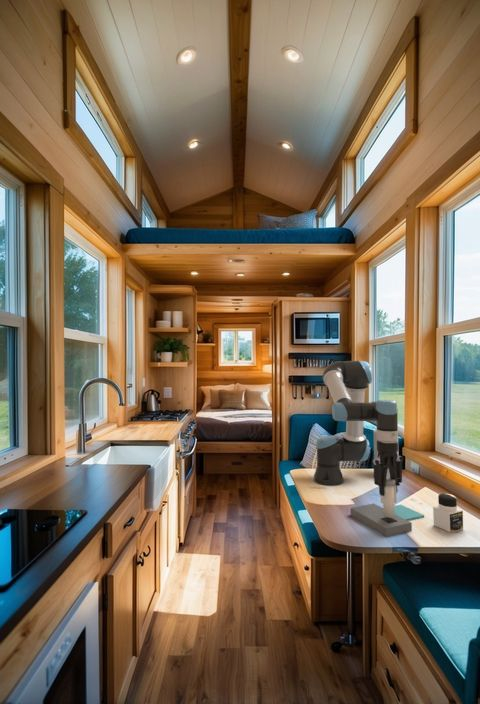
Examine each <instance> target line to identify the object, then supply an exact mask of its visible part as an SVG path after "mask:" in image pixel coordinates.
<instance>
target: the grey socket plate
mask: <svg viewBox="0 0 480 704" xmlns="http://www.w3.org/2000/svg"><path fill="white" fill-rule="evenodd" d="M350 516H351V517H353V518H355V519H356V520H358V521H360V522H361V523H363V524H364V525H366V526H368V527H370V528H371V529H373V530H375V531H376V532H378V533H379V534H381V535H383V536H385V537H386V538H387V537H392V536H396V535H400V534H403V533H404V534H405V533H408V532H409V533H410V532H412V531H413V524H412V521H410V520H409V521H407V520H405V519H403V518H401V517H399V516H397V515H396V514H395V517H393V518H389V517H385V516H384V515H383V506H379V505H377V504H376V503H370V504H364V505H358V506H354V507H353V506H352V507H350Z"/></svg>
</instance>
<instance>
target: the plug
mask: <svg viewBox="0 0 480 704" xmlns="http://www.w3.org/2000/svg"><path fill="white" fill-rule="evenodd" d="M394 485H396V483H395V480H394V479H392V478H386V484H385V487H387V504H388V505H385V504H383V503H382V508H383V515H384V516H385V517H389V518H393V517H395V506H396V503H395V502H394Z"/></svg>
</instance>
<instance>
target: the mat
mask: <svg viewBox="0 0 480 704" xmlns="http://www.w3.org/2000/svg"><path fill="white" fill-rule="evenodd" d="M395 514H396V515H397V516H399V517H401V518H403V519H405V520H407V521H409V522H410V521H413V520H417V519H422V518H425V514H423V513H420V512H418V511H416V510H414V509H412V508H409V507H407V506H405V505H403V504H398V505H397V504H395Z"/></svg>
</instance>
